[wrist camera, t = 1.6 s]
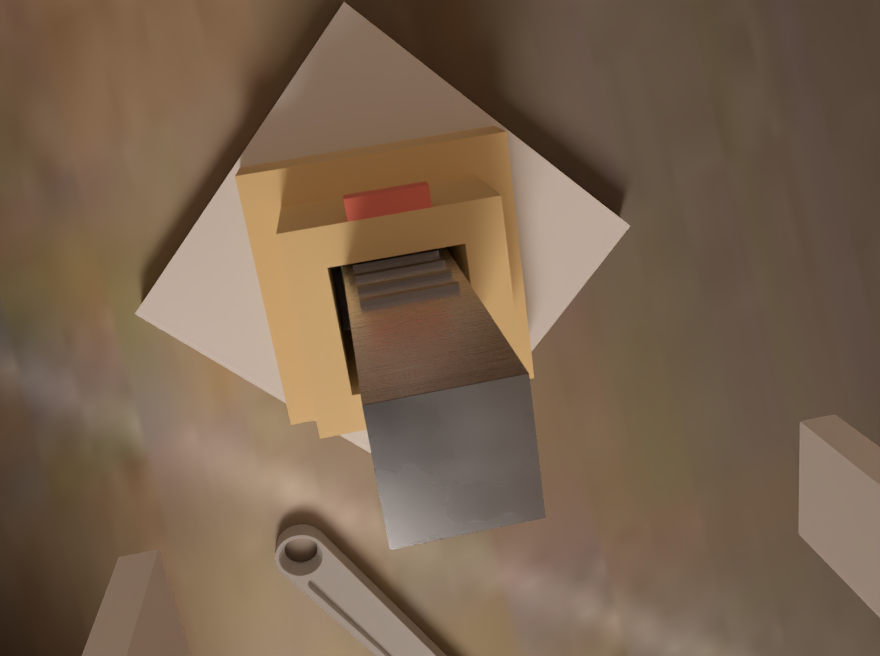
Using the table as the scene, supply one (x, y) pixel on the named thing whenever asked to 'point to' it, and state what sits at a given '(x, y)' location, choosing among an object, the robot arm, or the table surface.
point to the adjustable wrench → (351, 597)
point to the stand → (370, 224)
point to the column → (440, 401)
